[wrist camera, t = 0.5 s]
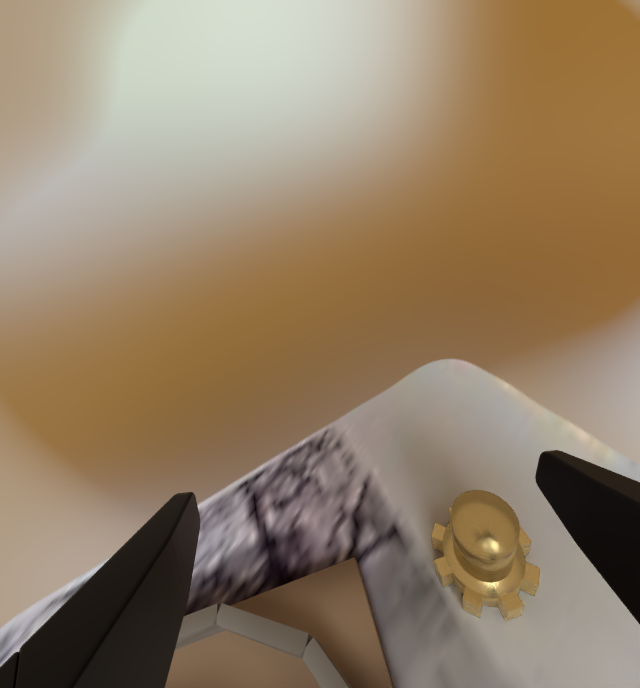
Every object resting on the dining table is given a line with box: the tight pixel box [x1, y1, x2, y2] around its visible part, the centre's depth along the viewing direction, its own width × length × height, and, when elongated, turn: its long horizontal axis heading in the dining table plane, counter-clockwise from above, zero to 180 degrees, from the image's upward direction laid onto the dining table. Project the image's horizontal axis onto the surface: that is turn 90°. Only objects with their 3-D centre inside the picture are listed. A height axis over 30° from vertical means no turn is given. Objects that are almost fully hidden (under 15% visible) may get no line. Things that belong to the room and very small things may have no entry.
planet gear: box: [431, 490, 540, 621], centre depth 18 cm, size 6×6×6 cm
